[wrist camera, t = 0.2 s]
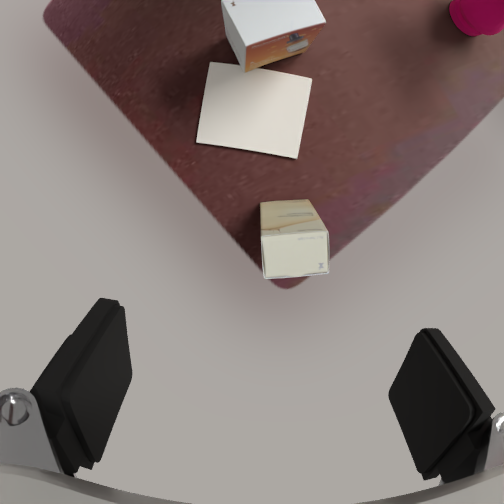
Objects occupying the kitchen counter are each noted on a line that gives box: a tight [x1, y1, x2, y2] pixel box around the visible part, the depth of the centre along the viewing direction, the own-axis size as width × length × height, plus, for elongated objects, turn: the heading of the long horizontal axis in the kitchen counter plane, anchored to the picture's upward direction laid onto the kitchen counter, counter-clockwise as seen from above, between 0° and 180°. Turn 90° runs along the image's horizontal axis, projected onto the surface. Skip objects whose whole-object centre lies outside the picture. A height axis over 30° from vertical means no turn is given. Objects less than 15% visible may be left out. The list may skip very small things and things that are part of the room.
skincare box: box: [260, 199, 329, 279], centre depth 34 cm, size 6×4×12 cm
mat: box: [196, 62, 312, 159], centre depth 34 cm, size 10×12×1 cm
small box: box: [221, 0, 326, 73], centre depth 26 cm, size 8×6×10 cm
